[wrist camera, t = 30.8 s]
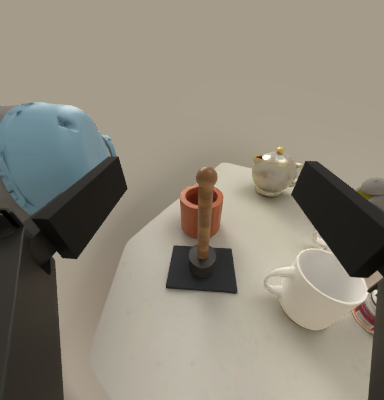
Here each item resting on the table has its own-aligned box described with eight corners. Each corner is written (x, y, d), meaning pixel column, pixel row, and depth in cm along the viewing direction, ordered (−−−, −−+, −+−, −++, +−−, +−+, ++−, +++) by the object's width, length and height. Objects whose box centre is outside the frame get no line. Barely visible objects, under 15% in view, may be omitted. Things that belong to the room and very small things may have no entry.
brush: (183, 264, 36) (177, 166, 22) (202, 250, 39) (207, 156, 25) (201, 284, 33) (207, 182, 19) (220, 267, 36) (237, 168, 22)
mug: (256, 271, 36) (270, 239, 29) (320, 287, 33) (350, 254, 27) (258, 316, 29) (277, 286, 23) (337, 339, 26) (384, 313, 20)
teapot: (246, 199, 57) (258, 153, 47) (245, 179, 67) (254, 138, 58) (304, 206, 53) (329, 158, 44) (293, 184, 64) (311, 142, 54)
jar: (174, 222, 48) (171, 194, 42) (201, 207, 53) (202, 180, 47) (199, 245, 41) (200, 215, 35) (227, 225, 47) (232, 196, 41)
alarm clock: (369, 219, 48) (409, 173, 39) (392, 237, 43) (444, 189, 34) (329, 219, 49) (360, 173, 40) (346, 237, 43) (386, 188, 34)
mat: (166, 288, 33) (165, 286, 33) (174, 246, 41) (173, 245, 41) (236, 293, 32) (237, 291, 32) (231, 250, 40) (231, 248, 40)
